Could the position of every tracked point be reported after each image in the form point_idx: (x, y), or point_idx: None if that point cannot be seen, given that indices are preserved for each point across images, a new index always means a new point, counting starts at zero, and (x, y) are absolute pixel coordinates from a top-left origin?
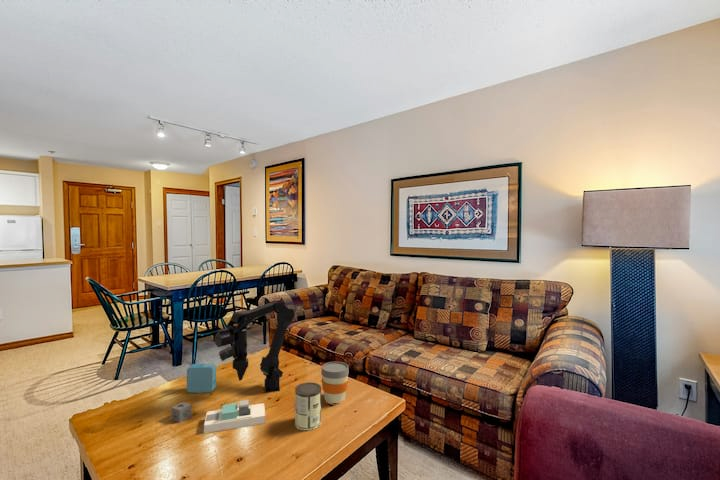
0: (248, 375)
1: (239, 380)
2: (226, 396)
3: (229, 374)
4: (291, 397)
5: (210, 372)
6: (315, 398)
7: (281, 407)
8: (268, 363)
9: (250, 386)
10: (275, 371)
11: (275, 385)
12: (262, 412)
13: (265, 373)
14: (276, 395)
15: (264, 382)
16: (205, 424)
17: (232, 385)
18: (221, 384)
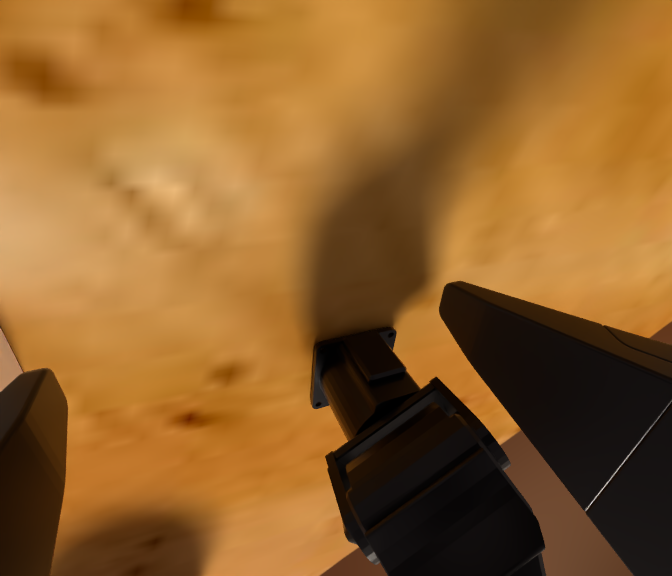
0: (572, 214)
1: (24, 377)
2: (365, 48)
3: (666, 85)
4: (207, 470)
5: None
6: None
7: (72, 461)
8: (414, 574)
9: (437, 239)
10: (345, 531)
11: (331, 408)
12: None
13: (391, 436)
14: (256, 400)
15: (386, 353)
16: None
17: (517, 108)
18: (584, 8)
